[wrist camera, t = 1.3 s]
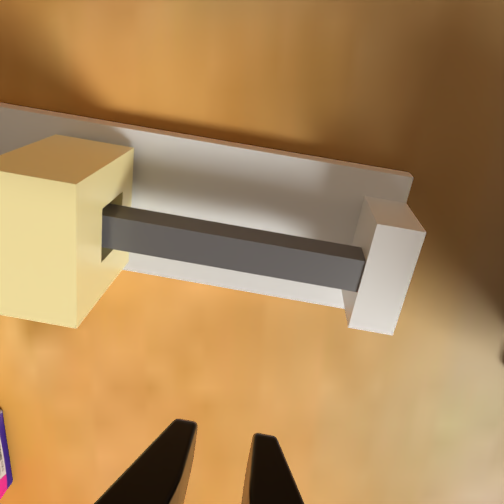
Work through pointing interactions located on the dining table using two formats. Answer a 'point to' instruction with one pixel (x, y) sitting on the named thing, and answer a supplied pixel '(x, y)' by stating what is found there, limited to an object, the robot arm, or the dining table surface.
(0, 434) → the supplement box
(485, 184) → the dining table surface
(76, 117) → the linear slide rail
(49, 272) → the sleeve
